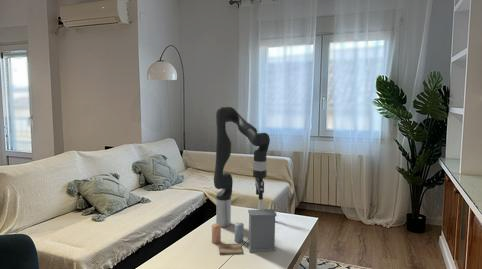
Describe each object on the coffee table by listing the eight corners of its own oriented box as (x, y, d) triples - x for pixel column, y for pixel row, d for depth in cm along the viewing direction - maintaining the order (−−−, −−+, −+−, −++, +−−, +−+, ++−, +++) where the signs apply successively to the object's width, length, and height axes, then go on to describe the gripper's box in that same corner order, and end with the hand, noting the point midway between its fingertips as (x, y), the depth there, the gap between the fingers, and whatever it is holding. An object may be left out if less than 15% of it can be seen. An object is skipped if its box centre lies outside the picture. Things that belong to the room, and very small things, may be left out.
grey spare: (234, 239, 196) (234, 222, 195) (242, 239, 197) (243, 222, 195) (235, 243, 191) (235, 226, 190) (243, 242, 192) (244, 225, 190)
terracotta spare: (211, 240, 194) (211, 223, 193) (220, 240, 195) (220, 223, 194) (212, 244, 189) (212, 227, 188) (220, 243, 190) (221, 226, 189)
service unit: (247, 245, 189) (248, 209, 186) (272, 244, 190) (273, 209, 188) (249, 252, 181) (250, 215, 178) (275, 251, 182) (276, 214, 180)
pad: (218, 246, 187) (218, 244, 187) (240, 245, 189) (240, 243, 189) (219, 254, 178) (219, 252, 178) (242, 253, 179) (242, 251, 179)
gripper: (251, 165, 195) (250, 193, 197) (255, 171, 181) (254, 201, 183) (264, 165, 196) (263, 192, 198) (269, 171, 182) (268, 200, 184)
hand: (259, 196), depth 191 cm, fingers open, 8 cm apart
